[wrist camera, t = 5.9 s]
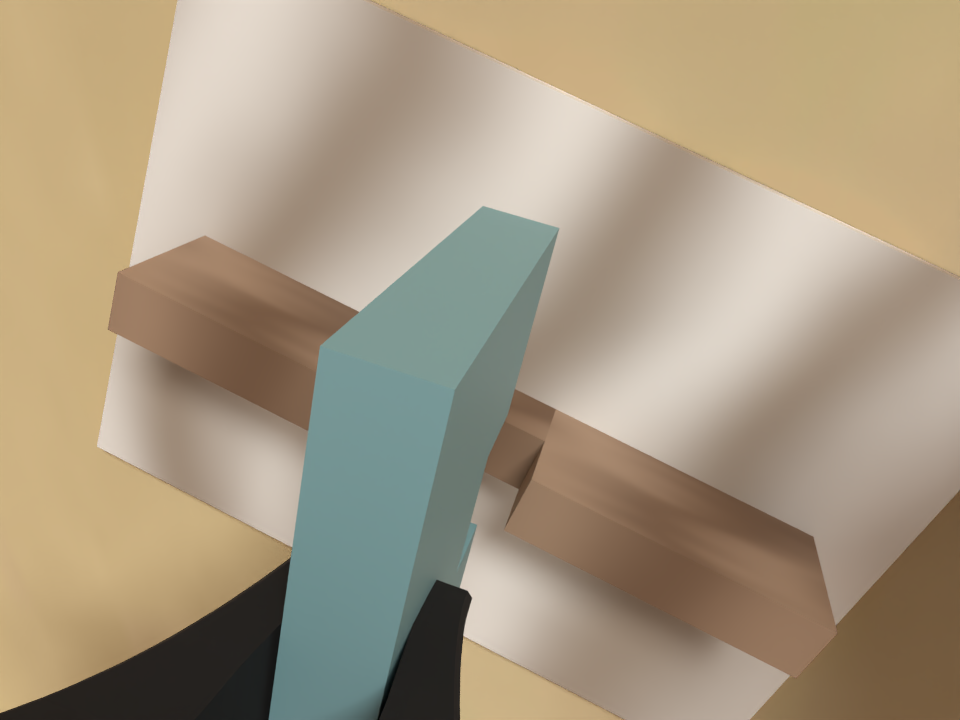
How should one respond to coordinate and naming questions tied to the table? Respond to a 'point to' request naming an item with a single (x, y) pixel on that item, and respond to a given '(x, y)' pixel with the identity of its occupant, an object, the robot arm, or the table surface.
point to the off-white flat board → (541, 348)
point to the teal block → (401, 460)
